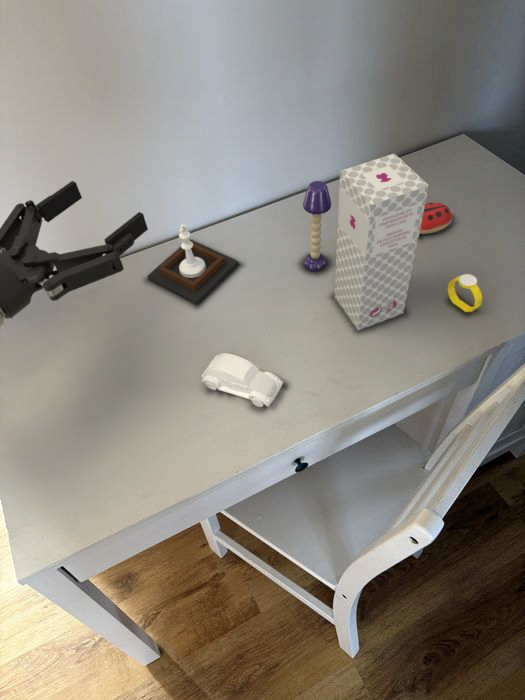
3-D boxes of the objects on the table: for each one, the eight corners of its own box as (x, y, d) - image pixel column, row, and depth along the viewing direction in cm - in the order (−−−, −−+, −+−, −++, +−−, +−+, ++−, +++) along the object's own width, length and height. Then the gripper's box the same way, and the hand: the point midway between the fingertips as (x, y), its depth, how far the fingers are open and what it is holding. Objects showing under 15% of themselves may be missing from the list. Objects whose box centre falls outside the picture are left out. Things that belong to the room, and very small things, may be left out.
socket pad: (148, 279, 99) (144, 270, 97) (190, 242, 104) (188, 232, 102) (197, 305, 94) (194, 295, 92) (238, 265, 100) (237, 255, 98)
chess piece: (211, 265, 99) (202, 221, 91) (194, 281, 96) (184, 238, 88) (190, 255, 101) (180, 212, 93) (174, 271, 98) (161, 229, 90)
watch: (480, 312, 88) (490, 287, 83) (468, 320, 87) (477, 295, 83) (453, 291, 91) (460, 266, 87) (441, 299, 91) (448, 273, 86)
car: (199, 385, 84) (194, 367, 80) (220, 356, 87) (216, 338, 83) (267, 414, 79) (265, 397, 76) (286, 383, 83) (285, 365, 79)
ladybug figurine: (395, 220, 104) (397, 205, 101) (440, 207, 105) (444, 192, 102) (412, 241, 100) (414, 226, 97) (459, 227, 101) (463, 212, 98)
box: (358, 330, 88) (371, 204, 68) (334, 296, 93) (340, 170, 73) (403, 313, 89) (428, 185, 70) (377, 280, 94) (394, 153, 75)
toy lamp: (308, 252, 100) (307, 175, 87) (332, 256, 99) (335, 179, 86) (300, 269, 98) (298, 192, 84) (325, 274, 96) (327, 196, 83)
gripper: (-56, 280, 74) (61, 198, 84) (62, 360, 64) (179, 256, 74) (-88, 239, 68) (42, 155, 78) (37, 320, 58) (168, 212, 68)
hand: (109, 204), depth 76 cm, fingers open, 13 cm apart
